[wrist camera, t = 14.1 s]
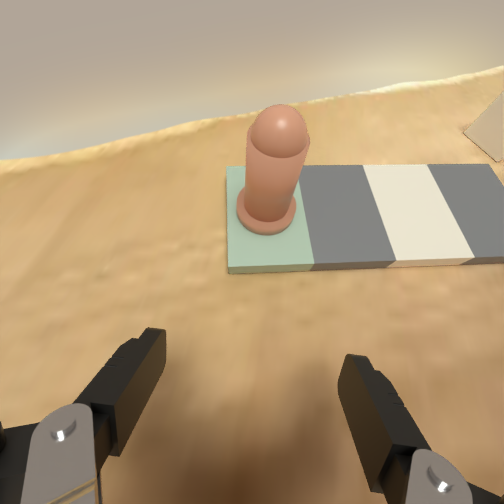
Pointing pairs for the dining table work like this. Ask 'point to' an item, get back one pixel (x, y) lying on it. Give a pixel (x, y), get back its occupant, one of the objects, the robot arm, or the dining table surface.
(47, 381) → the dining table surface
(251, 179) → the pawn
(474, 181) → the board
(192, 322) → the dining table surface
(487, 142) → the die
